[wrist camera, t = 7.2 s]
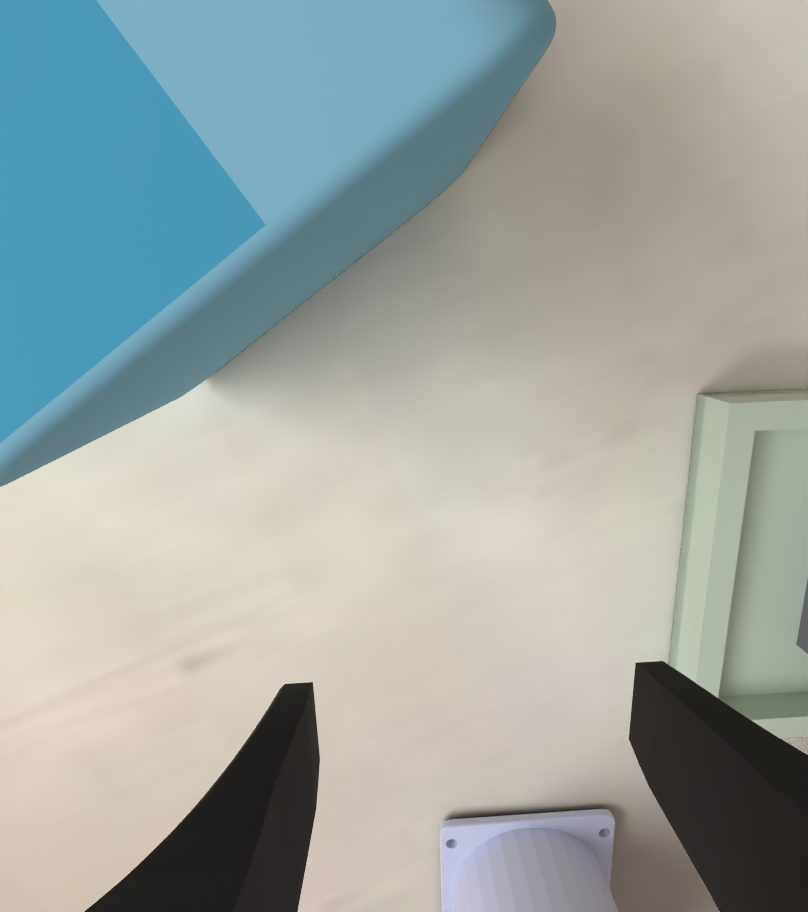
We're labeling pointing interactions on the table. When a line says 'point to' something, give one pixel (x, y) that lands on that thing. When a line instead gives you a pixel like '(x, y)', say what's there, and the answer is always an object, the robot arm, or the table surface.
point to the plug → (804, 625)
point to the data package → (213, 179)
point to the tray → (746, 557)
